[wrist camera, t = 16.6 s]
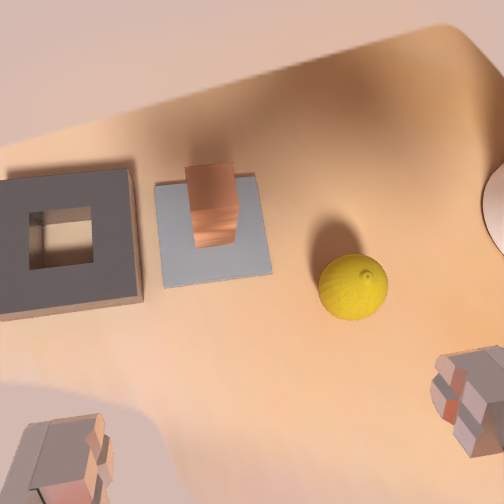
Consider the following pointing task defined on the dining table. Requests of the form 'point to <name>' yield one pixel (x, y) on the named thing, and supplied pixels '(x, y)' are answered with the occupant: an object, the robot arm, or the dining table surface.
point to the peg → (213, 204)
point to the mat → (210, 258)
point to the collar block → (71, 276)
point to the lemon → (353, 287)
